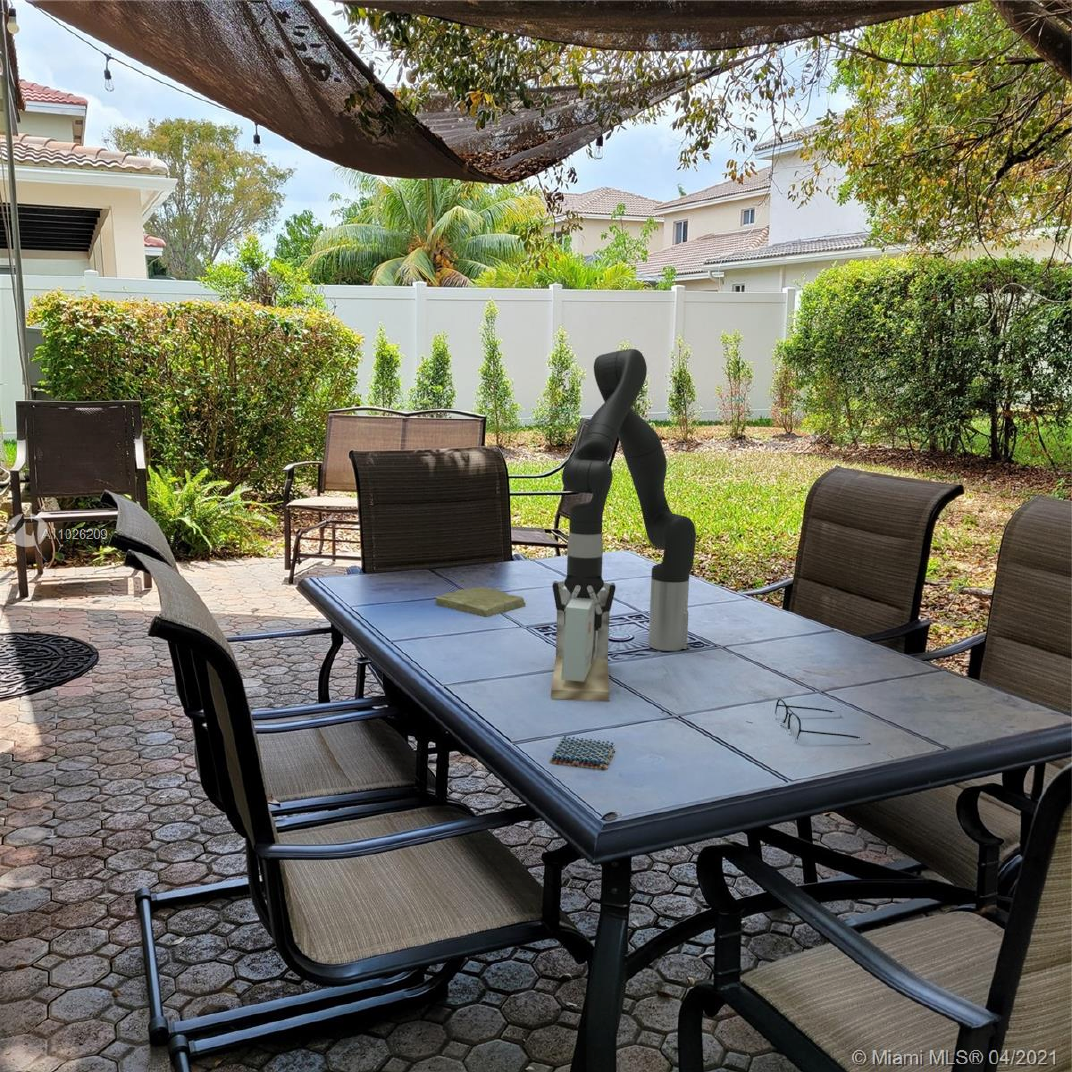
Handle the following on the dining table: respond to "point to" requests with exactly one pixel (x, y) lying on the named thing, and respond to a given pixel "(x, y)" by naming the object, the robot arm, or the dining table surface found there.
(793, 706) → the glasses
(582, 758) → the woven mat
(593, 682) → the wooden bookend
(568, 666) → the skincare box
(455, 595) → the decorative tile
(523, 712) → the dining table surface
